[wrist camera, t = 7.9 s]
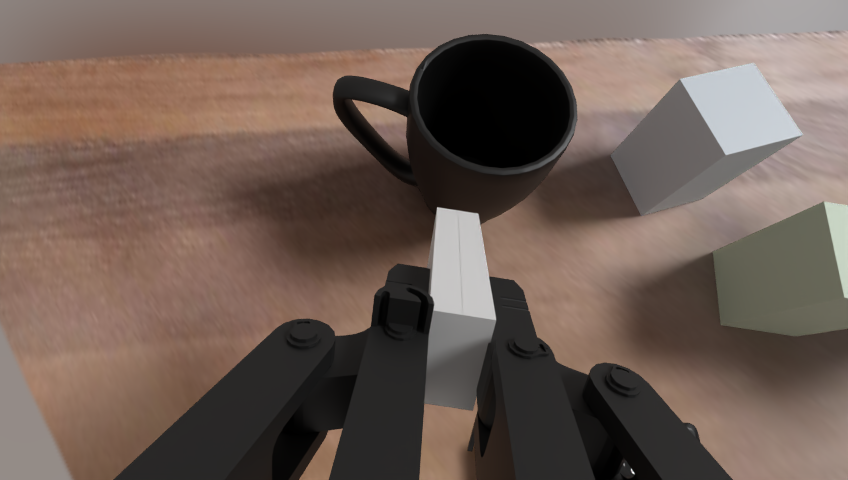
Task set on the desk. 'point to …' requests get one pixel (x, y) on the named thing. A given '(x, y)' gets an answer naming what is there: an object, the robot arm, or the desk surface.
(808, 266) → the block sage
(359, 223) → the desk surface
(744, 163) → the block grey
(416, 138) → the mug
